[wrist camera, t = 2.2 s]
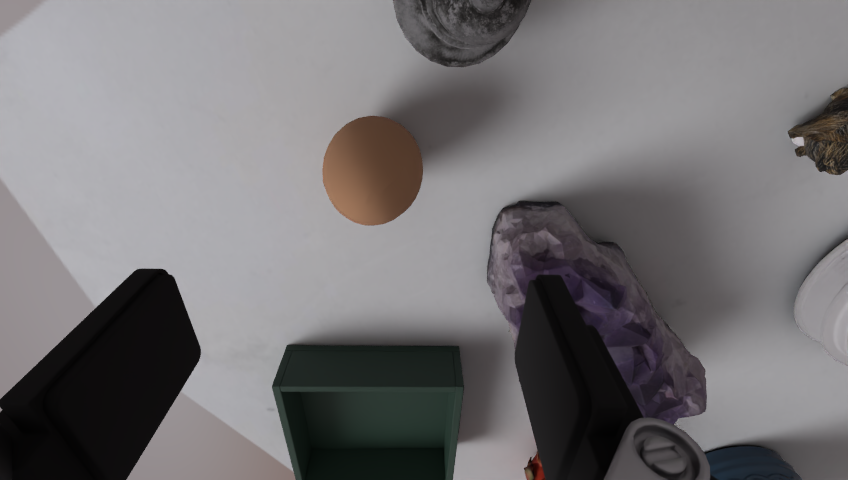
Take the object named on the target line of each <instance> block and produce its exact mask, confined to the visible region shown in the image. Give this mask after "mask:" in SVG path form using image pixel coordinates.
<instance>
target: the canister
mask: <svg viewBox="0 0 848 480" xmlns="http://www.w3.org/2000/svg"><path fill="white" fill-rule="evenodd" d="M705 455H706V458H707V460H708V463H709V465H710V475H712V476H714V477H715V478H717V479H718V480H802V479H801V477H800V476H799V475H798V474H797V473H796V472H795V470H794V468H793V467H792V466H791V465H790V464H789V463H787V462H786V461H784V460H783V459H782V457H781V456H780V455H779V454H777V453H776V452H774V451H772V450H770V449H766V448H762V447H756V446H738V447H730V448H724V449H719V450H716V451H712V452H709V453H706V454H705Z"/></svg>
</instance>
